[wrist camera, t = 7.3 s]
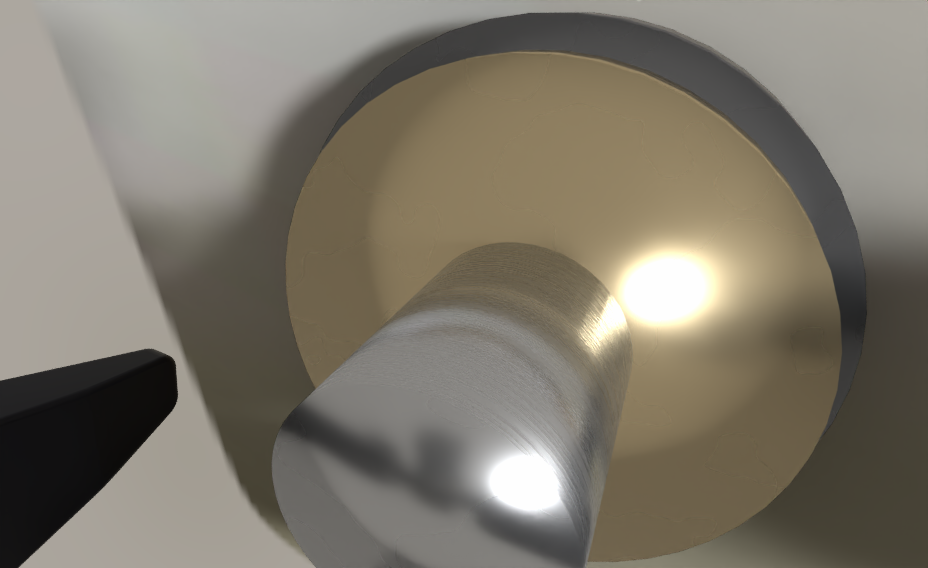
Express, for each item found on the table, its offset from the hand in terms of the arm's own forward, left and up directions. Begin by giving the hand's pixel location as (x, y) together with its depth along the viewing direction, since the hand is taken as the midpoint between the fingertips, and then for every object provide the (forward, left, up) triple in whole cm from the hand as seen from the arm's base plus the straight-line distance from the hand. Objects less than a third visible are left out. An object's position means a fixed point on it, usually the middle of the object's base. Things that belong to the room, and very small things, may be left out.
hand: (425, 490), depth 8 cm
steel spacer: (0, 0, -4) cm, 4 cm away
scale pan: (0, 0, -5) cm, 5 cm away
